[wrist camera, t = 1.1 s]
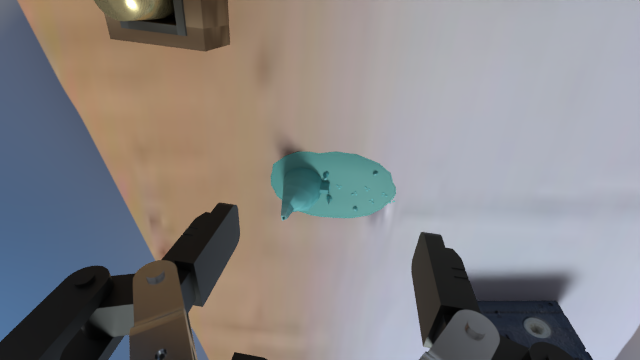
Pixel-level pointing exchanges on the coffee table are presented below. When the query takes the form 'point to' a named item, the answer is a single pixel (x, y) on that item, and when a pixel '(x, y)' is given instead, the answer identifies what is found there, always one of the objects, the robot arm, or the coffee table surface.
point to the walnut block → (179, 26)
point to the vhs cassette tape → (534, 324)
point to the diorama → (331, 184)
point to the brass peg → (136, 9)
